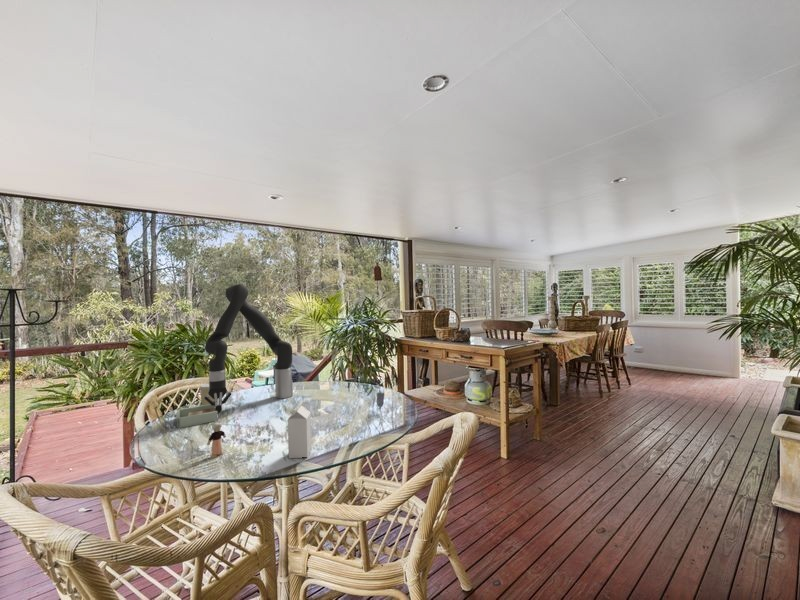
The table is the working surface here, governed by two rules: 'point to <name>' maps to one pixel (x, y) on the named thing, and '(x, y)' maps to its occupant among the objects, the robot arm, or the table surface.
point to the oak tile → (195, 413)
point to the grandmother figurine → (216, 440)
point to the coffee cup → (204, 391)
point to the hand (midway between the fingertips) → (218, 412)
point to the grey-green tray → (195, 416)
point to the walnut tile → (208, 410)
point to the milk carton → (299, 432)
